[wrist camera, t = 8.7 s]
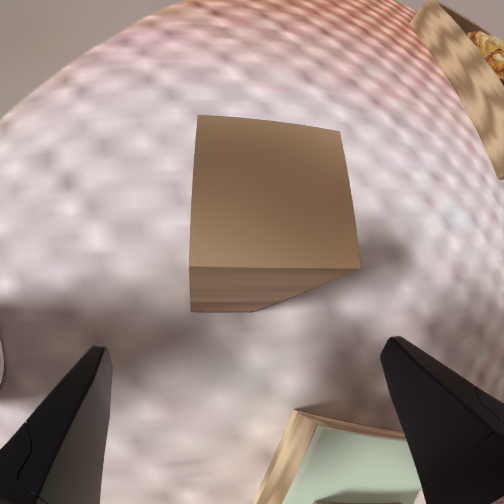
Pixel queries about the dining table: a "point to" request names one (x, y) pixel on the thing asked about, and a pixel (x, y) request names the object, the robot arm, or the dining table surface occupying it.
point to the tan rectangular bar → (267, 213)
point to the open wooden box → (303, 451)
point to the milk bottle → (1, 363)
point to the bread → (490, 51)
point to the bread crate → (466, 72)
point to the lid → (354, 470)
